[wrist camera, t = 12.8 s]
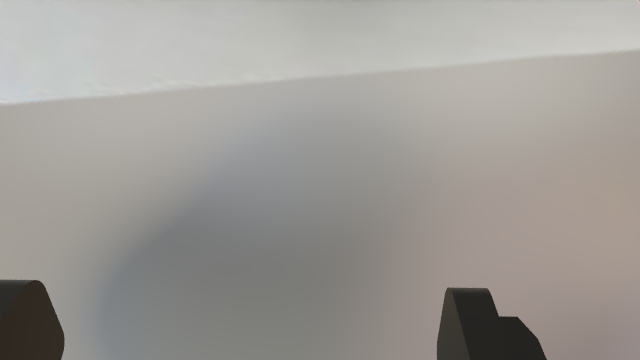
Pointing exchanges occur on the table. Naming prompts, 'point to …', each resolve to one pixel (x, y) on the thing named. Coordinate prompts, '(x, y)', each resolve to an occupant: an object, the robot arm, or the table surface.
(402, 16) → the table surface
